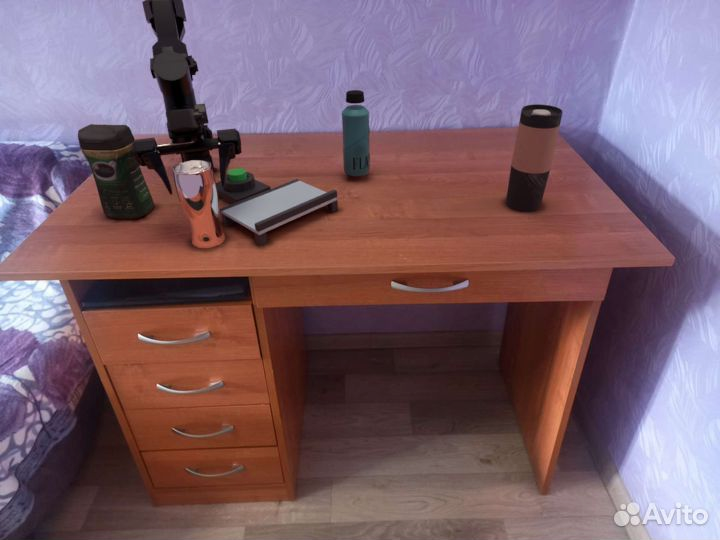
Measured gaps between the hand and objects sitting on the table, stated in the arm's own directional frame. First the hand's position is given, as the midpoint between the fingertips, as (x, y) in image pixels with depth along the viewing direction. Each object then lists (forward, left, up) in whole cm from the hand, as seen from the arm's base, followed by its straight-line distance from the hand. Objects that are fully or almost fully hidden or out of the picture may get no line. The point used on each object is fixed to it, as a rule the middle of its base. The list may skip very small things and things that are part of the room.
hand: (197, 190), depth 86 cm
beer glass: (+1, -1, -10) cm, 10 cm away
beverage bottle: (+18, +36, -10) cm, 41 cm away
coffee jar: (-22, +4, -10) cm, 25 cm away
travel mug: (+57, +33, -10) cm, 67 cm away
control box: (-4, +19, -10) cm, 22 cm away
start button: (-4, +19, -6) cm, 20 cm away
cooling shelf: (+10, +12, -10) cm, 18 cm away
